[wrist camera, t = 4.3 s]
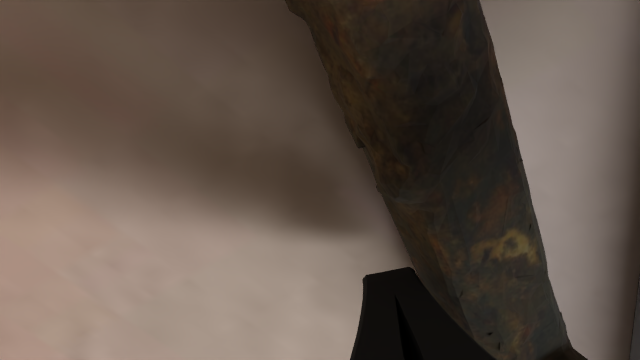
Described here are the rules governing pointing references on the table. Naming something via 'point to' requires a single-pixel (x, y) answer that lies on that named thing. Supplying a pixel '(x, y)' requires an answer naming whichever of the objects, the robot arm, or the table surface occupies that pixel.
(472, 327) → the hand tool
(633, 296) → the table surface
